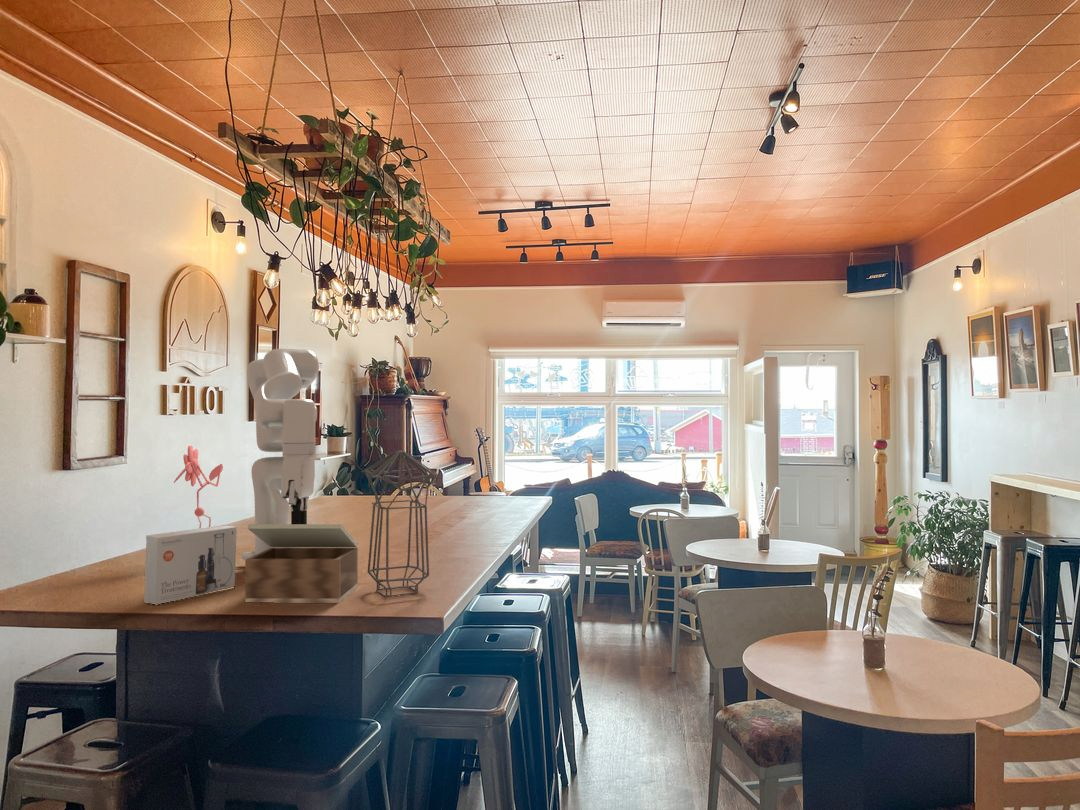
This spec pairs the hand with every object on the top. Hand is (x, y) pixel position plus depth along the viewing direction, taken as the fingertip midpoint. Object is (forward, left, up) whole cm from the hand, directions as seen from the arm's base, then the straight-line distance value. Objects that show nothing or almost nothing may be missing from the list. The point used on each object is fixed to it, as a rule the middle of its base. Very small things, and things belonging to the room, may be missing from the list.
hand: (299, 527), depth 177 cm
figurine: (-49, +45, -17) cm, 69 cm away
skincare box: (-27, +2, -17) cm, 32 cm away
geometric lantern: (+23, +5, -17) cm, 29 cm away
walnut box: (0, +3, -17) cm, 17 cm away
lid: (0, +4, -3) cm, 5 cm away
